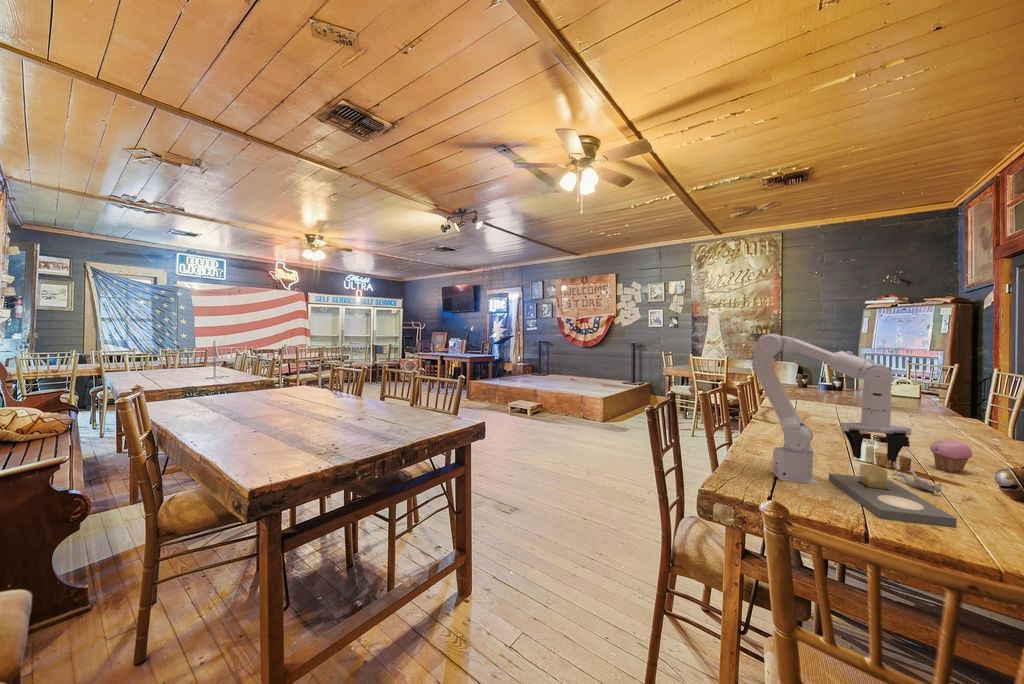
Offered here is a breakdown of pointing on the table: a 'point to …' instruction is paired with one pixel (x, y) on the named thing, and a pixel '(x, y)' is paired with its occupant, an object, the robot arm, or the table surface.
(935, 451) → the cupcake
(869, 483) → the brass post
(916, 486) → the soldier figure
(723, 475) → the table surface
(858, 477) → the board
